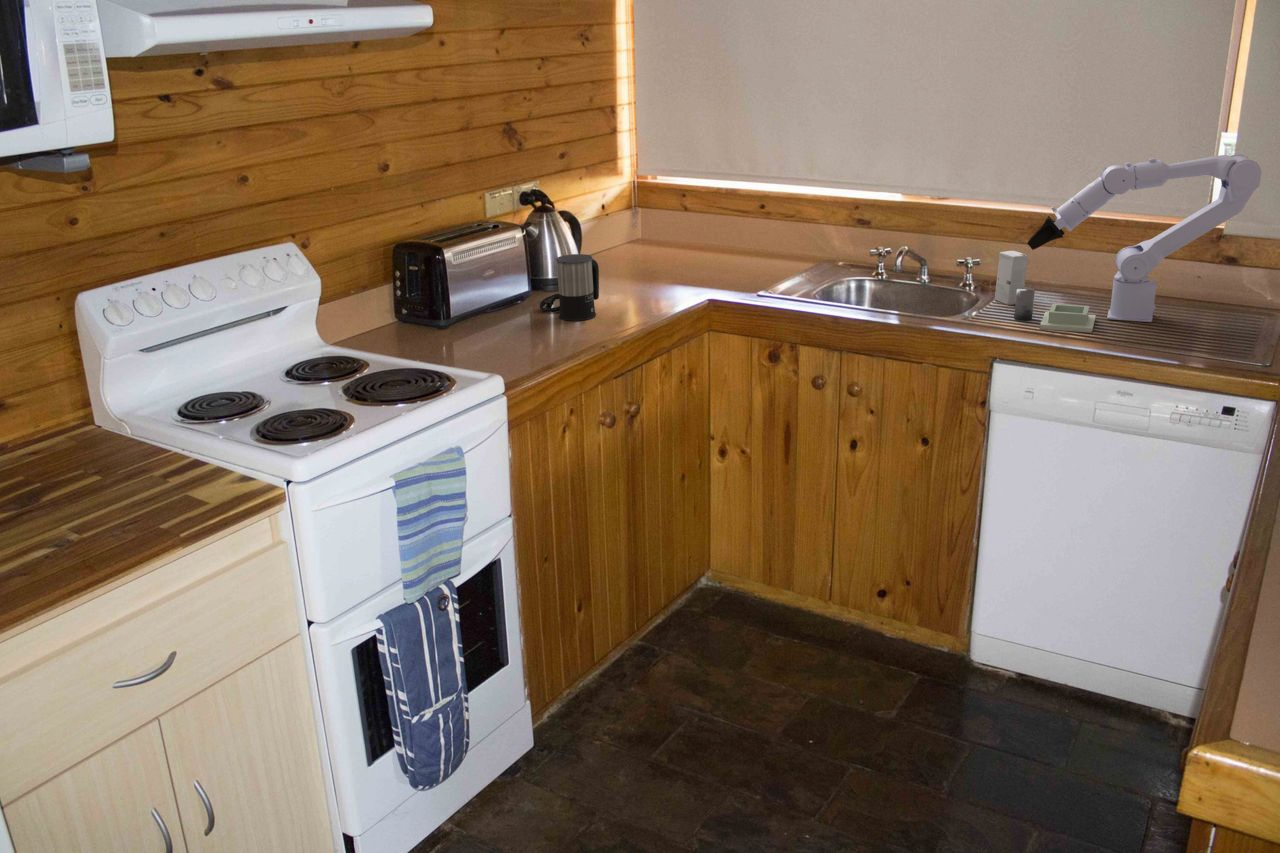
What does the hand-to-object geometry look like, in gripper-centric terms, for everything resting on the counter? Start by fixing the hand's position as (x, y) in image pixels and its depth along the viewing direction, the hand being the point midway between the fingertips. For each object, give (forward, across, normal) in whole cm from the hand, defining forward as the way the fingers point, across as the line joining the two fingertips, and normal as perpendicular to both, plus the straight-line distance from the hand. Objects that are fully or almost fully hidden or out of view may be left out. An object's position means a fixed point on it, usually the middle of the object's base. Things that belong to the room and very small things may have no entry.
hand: (1030, 245), depth 262 cm
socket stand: (+4, +4, +19) cm, 20 cm away
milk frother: (+93, +23, -58) cm, 112 cm away
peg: (+11, +2, +12) cm, 17 cm away
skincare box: (+13, -13, +8) cm, 20 cm away
